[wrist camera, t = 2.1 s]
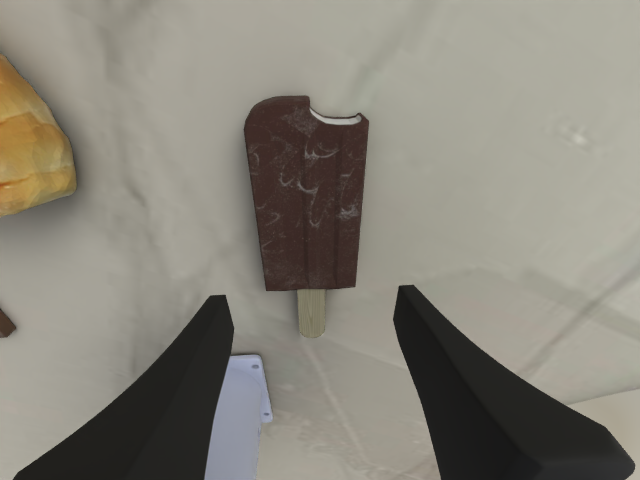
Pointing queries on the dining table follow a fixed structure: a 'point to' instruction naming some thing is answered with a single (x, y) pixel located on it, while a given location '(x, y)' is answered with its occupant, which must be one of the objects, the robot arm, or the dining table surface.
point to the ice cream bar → (306, 199)
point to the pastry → (30, 147)
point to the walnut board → (5, 326)
